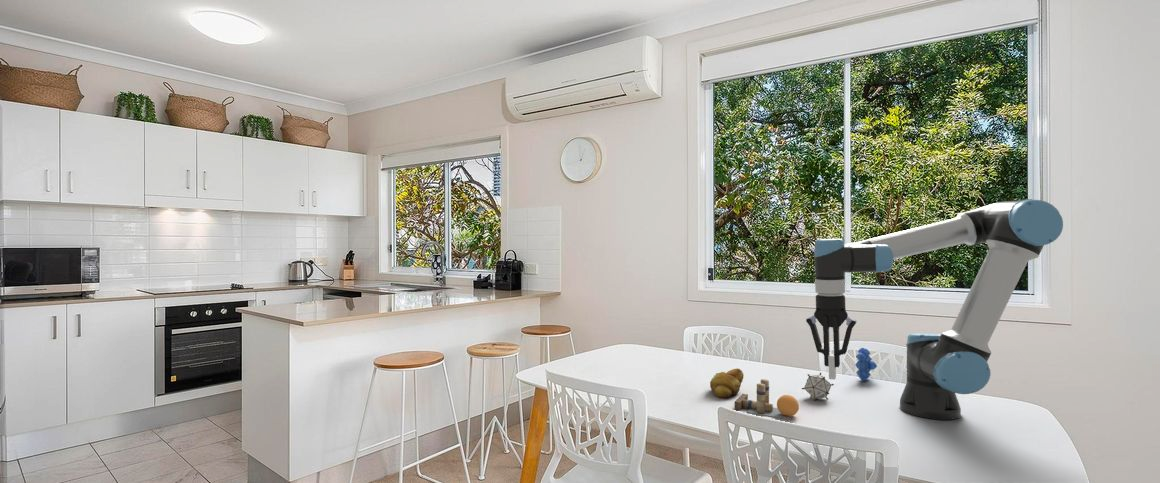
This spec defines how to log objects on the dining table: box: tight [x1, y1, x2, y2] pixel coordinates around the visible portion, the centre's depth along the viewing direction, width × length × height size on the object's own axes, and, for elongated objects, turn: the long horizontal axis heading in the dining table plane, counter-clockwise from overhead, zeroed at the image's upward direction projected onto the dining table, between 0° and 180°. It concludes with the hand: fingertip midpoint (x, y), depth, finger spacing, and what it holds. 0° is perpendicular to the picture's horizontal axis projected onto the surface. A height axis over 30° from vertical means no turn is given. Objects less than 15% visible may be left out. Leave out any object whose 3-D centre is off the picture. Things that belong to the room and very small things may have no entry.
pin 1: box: [755, 382, 765, 414], centre depth 160 cm, size 2×2×8 cm
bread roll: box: [709, 367, 744, 398], centre depth 179 cm, size 13×10×8 cm
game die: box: [801, 372, 835, 402], centre depth 172 cm, size 9×8×10 cm
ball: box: [776, 394, 800, 417], centre depth 157 cm, size 6×6×6 cm
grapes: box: [854, 347, 878, 382], centre depth 191 cm, size 12×7×12 cm, turn 139°
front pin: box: [742, 399, 774, 412], centre depth 163 cm, size 2×2×8 cm
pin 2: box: [760, 378, 770, 404], centre depth 164 cm, size 2×2×8 cm
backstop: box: [734, 393, 749, 412], centre depth 166 cm, size 2×9×2 cm, turn 148°
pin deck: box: [746, 406, 793, 421], centre depth 161 cm, size 12×8×1 cm, turn 58°
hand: (832, 378), depth 152 cm, fingers closed
